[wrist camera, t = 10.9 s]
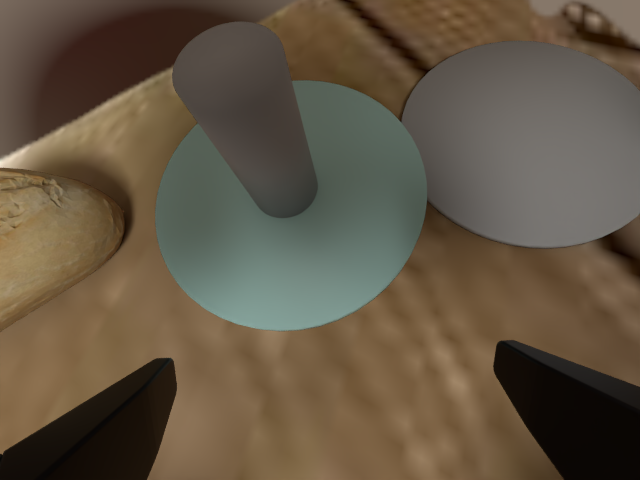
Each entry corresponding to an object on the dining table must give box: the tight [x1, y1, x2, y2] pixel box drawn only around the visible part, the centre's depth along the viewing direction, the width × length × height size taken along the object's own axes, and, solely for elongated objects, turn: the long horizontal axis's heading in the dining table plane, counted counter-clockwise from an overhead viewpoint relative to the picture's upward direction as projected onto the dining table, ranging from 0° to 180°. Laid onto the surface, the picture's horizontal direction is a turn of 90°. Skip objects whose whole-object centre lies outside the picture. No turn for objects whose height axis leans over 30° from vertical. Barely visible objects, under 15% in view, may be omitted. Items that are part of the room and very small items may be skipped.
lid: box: [155, 22, 427, 331], centre depth 14 cm, size 15×15×9 cm
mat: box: [401, 41, 640, 249], centre depth 22 cm, size 17×17×1 cm
